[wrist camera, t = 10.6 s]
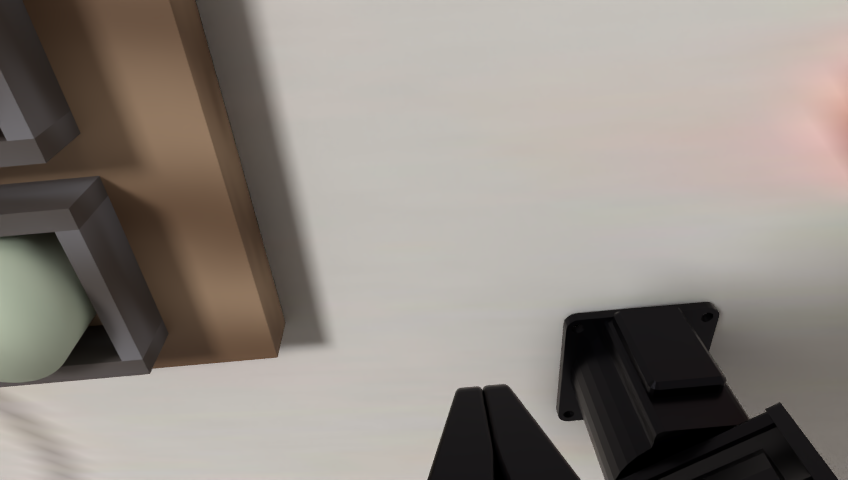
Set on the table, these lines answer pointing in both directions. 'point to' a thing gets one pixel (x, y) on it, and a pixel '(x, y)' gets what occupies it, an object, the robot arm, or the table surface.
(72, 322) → the sage button
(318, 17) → the table surface
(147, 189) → the button panel
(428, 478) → the robot arm
